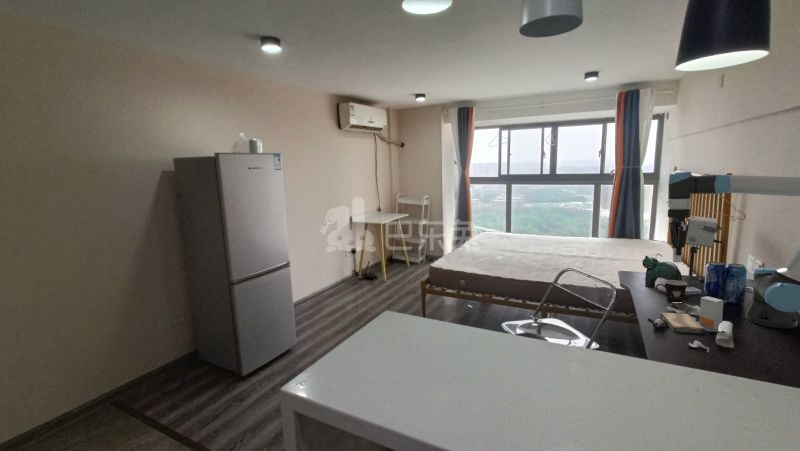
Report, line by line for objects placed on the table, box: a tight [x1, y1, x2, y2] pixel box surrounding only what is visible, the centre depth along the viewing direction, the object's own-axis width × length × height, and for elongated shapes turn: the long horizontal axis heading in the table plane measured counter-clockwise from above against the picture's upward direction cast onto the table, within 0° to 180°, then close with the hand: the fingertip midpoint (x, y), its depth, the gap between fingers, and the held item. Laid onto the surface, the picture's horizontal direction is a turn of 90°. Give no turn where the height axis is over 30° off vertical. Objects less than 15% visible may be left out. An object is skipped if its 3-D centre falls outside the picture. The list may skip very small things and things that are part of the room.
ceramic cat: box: [642, 253, 684, 288], centre depth 194 cm, size 20×6×20 cm, turn 17°
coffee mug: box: [655, 280, 688, 304], centre depth 177 cm, size 12×9×10 cm
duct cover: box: [660, 312, 705, 331], centre depth 151 cm, size 10×15×1 cm, turn 161°
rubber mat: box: [695, 320, 718, 333], centre depth 147 cm, size 6×9×1 cm, turn 161°
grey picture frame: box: [660, 314, 705, 334], centre depth 151 cm, size 10×15×2 cm, turn 161°
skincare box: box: [698, 295, 724, 329], centre depth 146 cm, size 6×4×12 cm
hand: (677, 261), depth 153 cm, fingers closed
